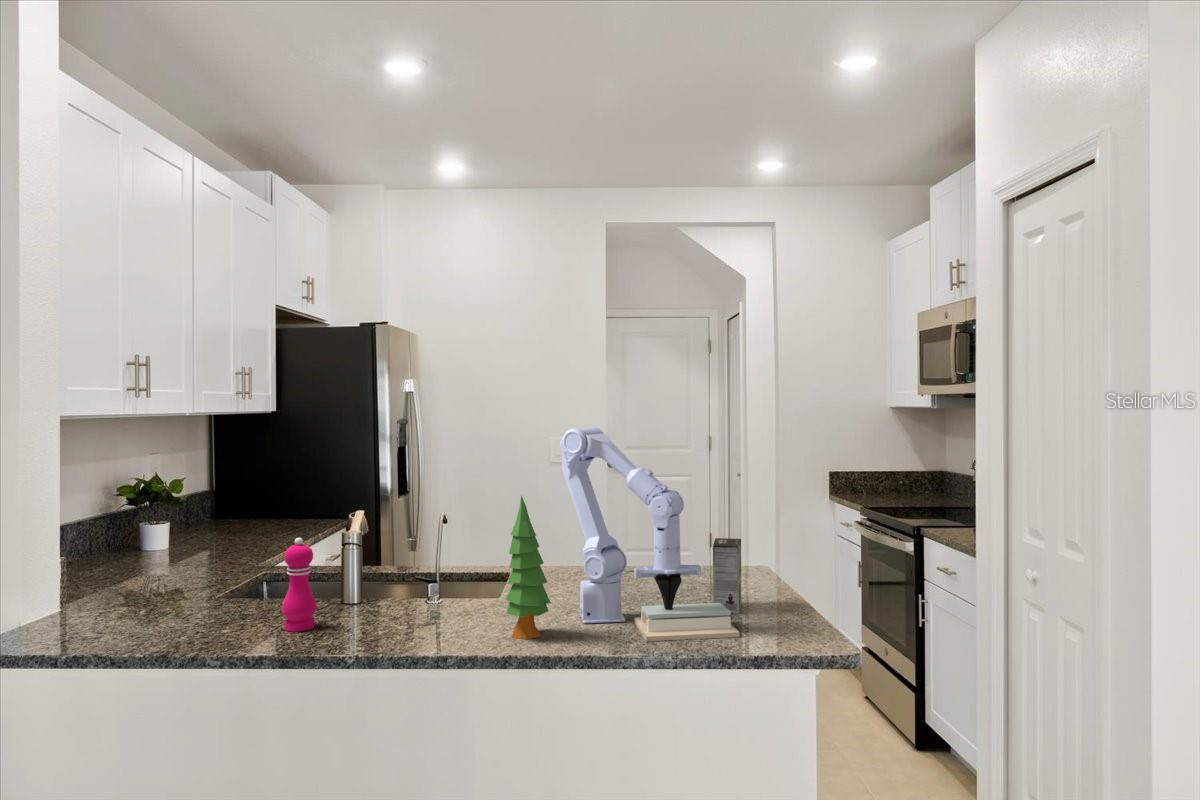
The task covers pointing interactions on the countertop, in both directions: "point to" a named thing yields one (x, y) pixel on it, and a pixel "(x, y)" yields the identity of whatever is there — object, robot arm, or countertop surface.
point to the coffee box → (727, 573)
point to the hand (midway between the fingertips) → (668, 609)
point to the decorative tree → (526, 578)
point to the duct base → (685, 627)
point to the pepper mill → (299, 589)
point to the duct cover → (686, 610)
